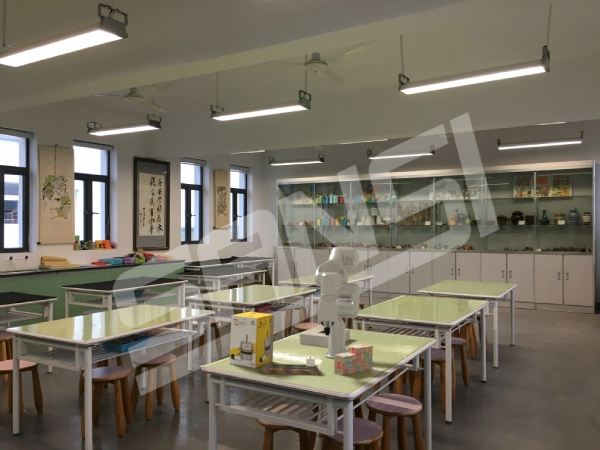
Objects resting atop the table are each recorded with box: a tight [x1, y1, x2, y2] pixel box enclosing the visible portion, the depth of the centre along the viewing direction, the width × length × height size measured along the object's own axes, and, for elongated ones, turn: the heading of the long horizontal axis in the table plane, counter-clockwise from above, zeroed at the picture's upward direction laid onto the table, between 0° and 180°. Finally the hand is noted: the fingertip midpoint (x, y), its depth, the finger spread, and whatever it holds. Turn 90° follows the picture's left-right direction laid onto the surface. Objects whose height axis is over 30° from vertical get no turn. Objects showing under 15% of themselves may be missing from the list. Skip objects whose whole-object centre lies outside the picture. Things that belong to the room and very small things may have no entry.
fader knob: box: [305, 356, 316, 367], centre depth 239 cm, size 4×5×5 cm
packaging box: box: [229, 311, 275, 369], centre depth 254 cm, size 16×16×25 cm
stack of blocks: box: [333, 343, 374, 376], centre depth 243 cm, size 21×6×12 cm, turn 130°
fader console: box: [260, 363, 320, 376], centre depth 238 cm, size 28×10×3 cm, turn 92°
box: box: [299, 325, 351, 348], centre depth 312 cm, size 23×8×32 cm
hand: (327, 335), depth 239 cm, fingers closed
